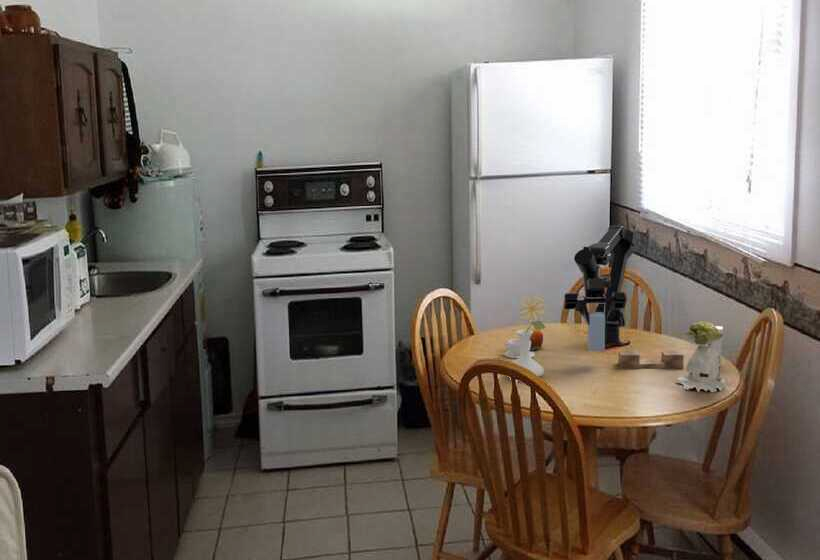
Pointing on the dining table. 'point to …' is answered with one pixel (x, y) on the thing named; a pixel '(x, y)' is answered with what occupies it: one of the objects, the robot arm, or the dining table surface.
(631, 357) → the slotted plank
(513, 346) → the teacup
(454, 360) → the dining table surface
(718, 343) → the skincare box
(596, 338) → the blue block
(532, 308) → the flower in vase
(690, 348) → the dining table surface
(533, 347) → the fruit
